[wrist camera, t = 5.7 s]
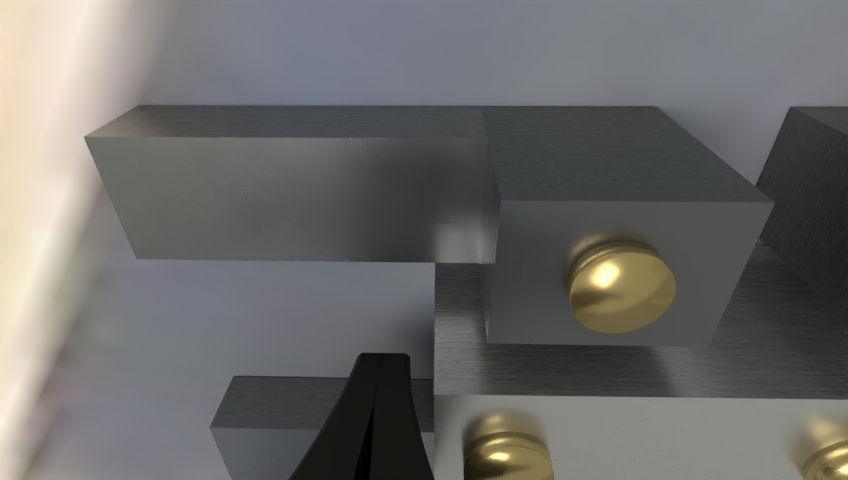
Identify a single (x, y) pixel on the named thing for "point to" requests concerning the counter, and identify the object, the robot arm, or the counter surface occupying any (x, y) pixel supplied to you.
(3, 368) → the counter surface
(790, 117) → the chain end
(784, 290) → the block with brass knobs
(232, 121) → the chain end
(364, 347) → the counter surface
